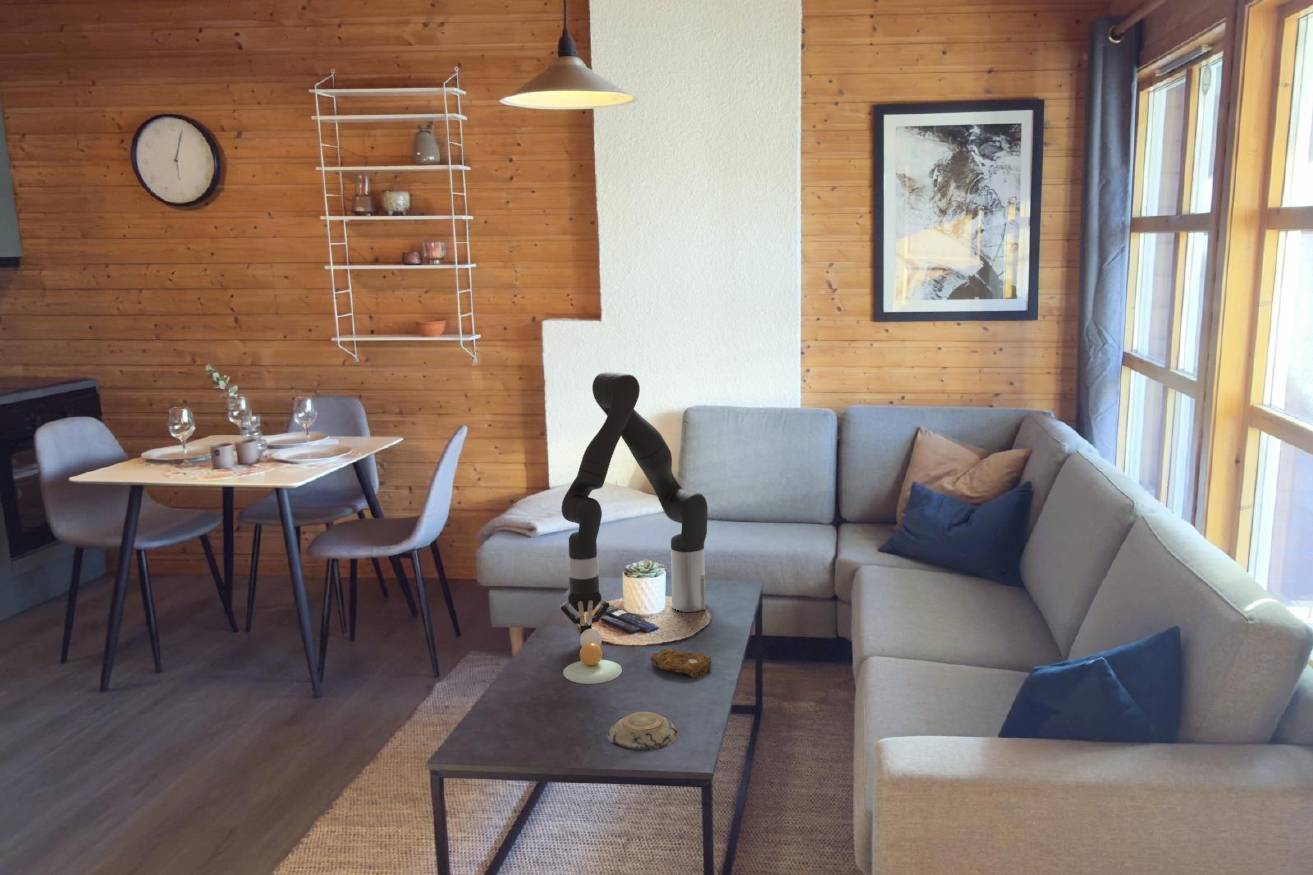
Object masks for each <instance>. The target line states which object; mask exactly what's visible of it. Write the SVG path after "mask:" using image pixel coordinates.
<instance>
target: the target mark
mask: <svg viewBox="0 0 1313 875" xmlns="http://www.w3.org/2000/svg"><path fill="white" fill-rule="evenodd" d="M622 672H623V669H622V666H621V665H620V664H619V663H616V662H614V661H612V660H608V659H607V660H606V659H601V660H600V662H599V663H598V664H596V665H593V666H589V665H586V664H584V663H583V662H582V661H581V660H580V661H579V660H578V661H575V662H572V663H570V664H569V665H567V666H566V667H565V668H564V669H563V672H562V675H563V676H564V678H565V679H567V680H568V681H569V682H573V683H577V684H583V685H584V684H585V685H596V684H603V683H608V682H611V681H613V680H615V679H617V678H618V677H620V675H622Z"/></svg>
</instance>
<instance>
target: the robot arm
mask: <svg viewBox="0 0 1313 875" xmlns="http://www.w3.org/2000/svg"><path fill="white" fill-rule="evenodd" d="M591 389H592V394H593V398H594V400H595V402H596V403H597V405H598V406H599V407H600V409H601V410H602V411H603V412H604V414H605V415H606V416H607V417H606V419H605V421H604V423H603V424H602V426H601V427H600V429H599V430H598V432H596V435H595V436H594V437H593V438H592V440H591V441H590V442H589V444H588V445H587V447H586V448H585V450H584V454H582V458H581V461H580V465H579V469H578V472H577V474H576V477H575V479H574V480H573V481H572V484H570V487H569V488H568V490H567V492H566V493H565V495H564V497H563V499H562V503H561V514H562V517H563V518H564V519H565V520H566V521H568V522H571V523H575V524H578V531H575V532H572V533H571V534H570V535H569V536H568V582H569V583H568V584H569V587H568V588H569V589H568V590H569V594H568V596H567V600H566V601H565V602H562V603H560V605H559V606H560V610H561V611H562V612H563V613H564V614H565V616H566V617H567V618H568V619H569V620H570V621H571V622H572V623H573V625H577V624H578V625H579V627H580V628H579V629H580V630H579V632H580V635H581V634H582V633H583V632H584V631H585V630H587V629H593V624H594V623H598V622H599V621H600V619H601V618H602V617H603V616H604V614H605V613H606V611H607V610H608V609H609V608H610V602H609V600H608V599H604V598H603V597H602V594H601V592H600V576H599V575H600V574H599V572H600V569H599V560H598V547H597V546H598V545H597V544H598V543H597V540H598V535H599V531H600V527H601V522H602V516H603V512H602V506H601V504H600V502H599V501H598V500H597V499H595V498H593V497H590V494H591V492H592V491H594V490H599V489H601V488H603V486H604V484H605V482H606V477H607V474H608V471H609V468H610V463H611V461H612V458H613V455H614V452H615V450H616V448H617V444H618V443H619V440H620V439H622V440H623V441H624V443H625V445H626V446H627V447H628V449H629V451H630V453H631V455H632V457H633V458H634V460H635V461H636V463H637V465H638V466H639V467H640V469H641V471H642V472H643V474H644V475H645V477H646V479H647V481H648V482H649V484H650V485H651V487H652V489H653V490H654V493H655V494H656V496H657V499H658V501H659V503H660V506H661V507H662V510H663V512H664V514H665V515H666V517H667V518H668V519H669V520H671V521H673V522H675V523H679V524H681V532H680V533H678V534H675V535H674V536H672V537H671V539H670V564H671V565H670V566H671V570H670V571H671V606H672V609H673V610H675V609H676V610H675V611H677V610H679V611H678V612H681V611H682V613H695V612H699V611H705V610H706V577H705V576H706V574H705V542H706V538H707V535H708V534H707V532H708V513H709V512H708V510H709V509H708V507H709V506H708V502H707V499H706V497H705V496H704V495H703V494H702V493H699V492H696V491H692V490H687V489H685V488H683V487H682V486H681V485H680V483H679V482H678V480H677V479H676V477H675V476H674V473H673V470H672V468H673V467H672V466H673V456H672V452H671V449H670V448H669V445H668V444H667V442H666V441H665V439H664V437H663V436H662V434H661V433H660V432H659V430H658V429H657V428H656V427H655V426H653V425H652V424H651V422H649V421H648V420H647V419H646V418H644V417H643V416H642V415H641V414H640V413H638V411H637V410H636V409H635V408H636V404H637V402H638V400H639V397H640V392H641V391H640V389H641V388H640V383H639V380H638V379H637V377H636V376H634V375H633V374H631V373H625V372H615V371H604V372H601V373H598V375H596V376H595V378H594V379H593V382H592V387H591ZM570 605H571V606H570ZM598 605H599V607H598V609H597V610H596V612H595V613H594V614H593V611H595V609H596V608H597V606H598ZM571 607H572V608H573V609H574V610H575V611H576V612H578V616H576V615H575V613H574V612H572V610H571ZM585 615H586V617H585Z"/></svg>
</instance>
